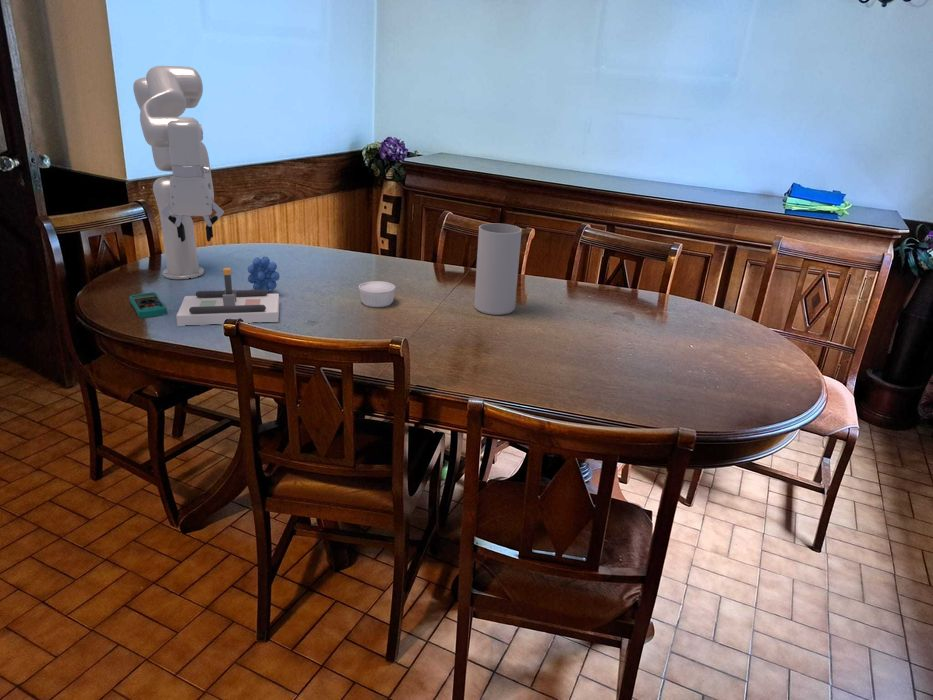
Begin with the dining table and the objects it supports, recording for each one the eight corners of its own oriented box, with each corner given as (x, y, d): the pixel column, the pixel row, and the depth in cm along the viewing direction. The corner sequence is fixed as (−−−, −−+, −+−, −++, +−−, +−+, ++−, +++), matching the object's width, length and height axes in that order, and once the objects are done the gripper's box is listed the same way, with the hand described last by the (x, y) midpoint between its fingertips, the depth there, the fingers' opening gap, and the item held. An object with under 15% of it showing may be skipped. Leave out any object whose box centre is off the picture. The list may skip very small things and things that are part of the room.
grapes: (288, 292, 203) (286, 255, 199) (275, 298, 198) (272, 260, 193) (258, 286, 207) (255, 249, 202) (244, 292, 202) (240, 254, 197)
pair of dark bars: (196, 296, 187) (195, 290, 187) (267, 294, 192) (267, 288, 191) (189, 314, 174) (188, 308, 174) (265, 312, 179) (265, 305, 178)
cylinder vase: (468, 311, 196) (473, 229, 186) (481, 299, 207) (486, 221, 197) (507, 318, 193) (514, 235, 183) (519, 305, 204) (526, 226, 193)
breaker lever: (226, 299, 184) (222, 267, 180) (235, 299, 185) (231, 267, 181) (225, 303, 181) (221, 270, 177) (234, 303, 182) (230, 270, 178)
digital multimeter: (139, 320, 178) (138, 310, 177) (129, 303, 189) (128, 294, 188) (168, 316, 182) (167, 306, 181) (157, 300, 193) (155, 290, 192)
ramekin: (366, 294, 206) (366, 278, 204) (400, 299, 204) (400, 282, 202) (353, 306, 196) (353, 289, 194) (388, 310, 194) (388, 294, 192)
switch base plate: (186, 305, 188) (183, 284, 186) (279, 302, 195) (278, 282, 192) (177, 326, 174) (174, 303, 172) (278, 322, 180) (276, 300, 178)
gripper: (225, 169, 172) (231, 236, 180) (154, 168, 168) (164, 237, 175) (222, 174, 166) (229, 243, 173) (148, 173, 162) (159, 244, 169)
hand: (196, 239), depth 174 cm, fingers open, 5 cm apart
